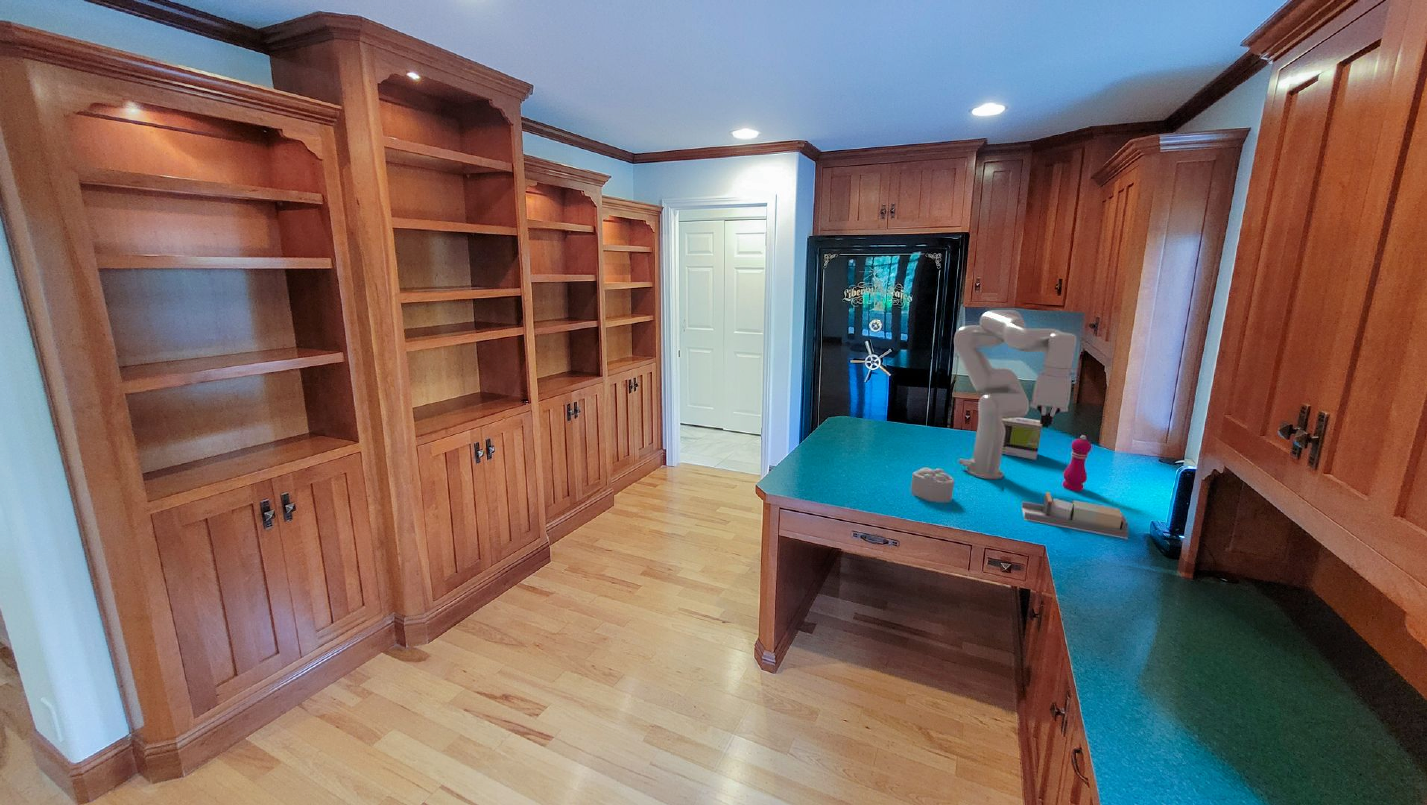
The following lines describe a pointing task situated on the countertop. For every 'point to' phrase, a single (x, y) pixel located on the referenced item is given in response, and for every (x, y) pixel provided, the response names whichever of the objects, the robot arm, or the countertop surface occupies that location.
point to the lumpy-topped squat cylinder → (932, 485)
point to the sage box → (1084, 512)
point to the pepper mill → (1077, 465)
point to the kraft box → (1109, 517)
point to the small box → (1061, 509)
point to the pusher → (1047, 504)
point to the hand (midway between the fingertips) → (1044, 426)
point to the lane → (1035, 514)
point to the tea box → (1021, 437)
